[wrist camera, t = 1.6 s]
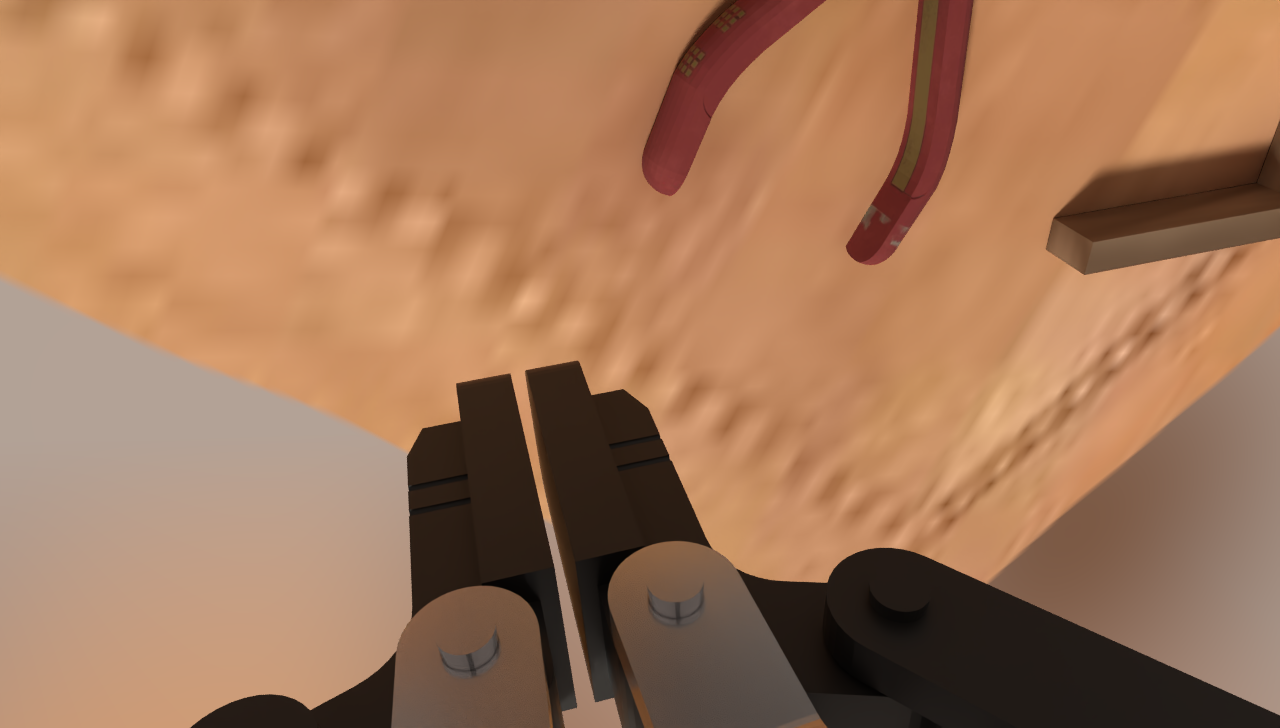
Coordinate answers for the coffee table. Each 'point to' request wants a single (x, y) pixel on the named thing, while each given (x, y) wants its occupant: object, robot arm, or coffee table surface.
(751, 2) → the pliers
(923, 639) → the robot arm
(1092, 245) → the tool rest
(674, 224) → the coffee table surface
